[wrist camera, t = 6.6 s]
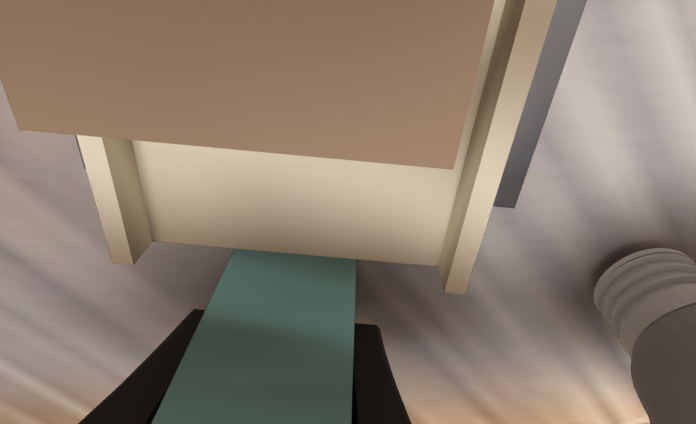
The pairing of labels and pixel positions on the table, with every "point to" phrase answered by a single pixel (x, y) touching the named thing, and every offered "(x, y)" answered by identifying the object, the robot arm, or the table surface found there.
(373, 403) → the robot arm
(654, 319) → the light bulb
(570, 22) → the lane rails
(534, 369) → the table surface
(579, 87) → the table surface
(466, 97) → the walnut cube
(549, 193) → the table surface
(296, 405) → the cream sliding tray
